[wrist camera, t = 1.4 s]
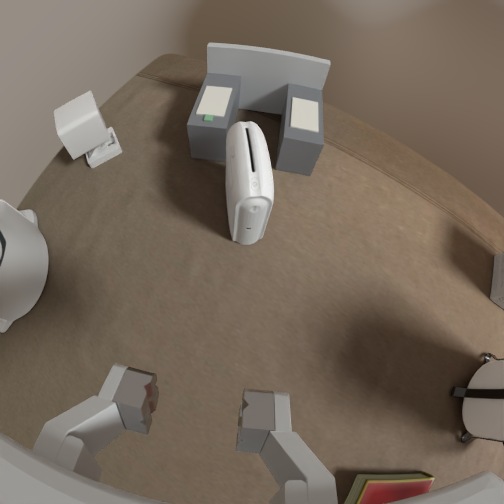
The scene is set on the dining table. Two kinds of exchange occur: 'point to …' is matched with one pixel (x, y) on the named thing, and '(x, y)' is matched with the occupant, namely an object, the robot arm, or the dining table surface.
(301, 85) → the module bay
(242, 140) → the photo printer
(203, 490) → the dining table surface
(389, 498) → the hardcover book
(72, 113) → the security camera
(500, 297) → the supplement box
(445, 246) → the dining table surface
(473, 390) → the coffee press
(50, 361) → the dining table surface
